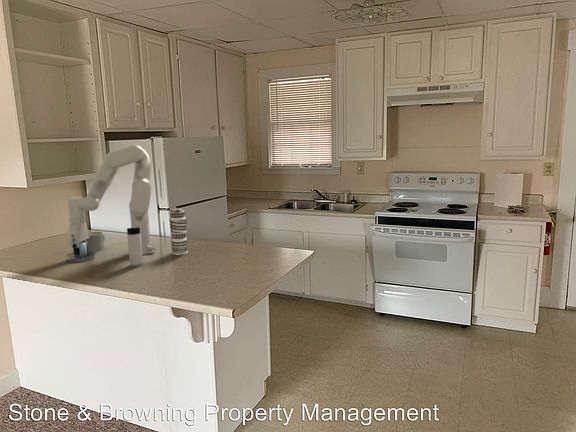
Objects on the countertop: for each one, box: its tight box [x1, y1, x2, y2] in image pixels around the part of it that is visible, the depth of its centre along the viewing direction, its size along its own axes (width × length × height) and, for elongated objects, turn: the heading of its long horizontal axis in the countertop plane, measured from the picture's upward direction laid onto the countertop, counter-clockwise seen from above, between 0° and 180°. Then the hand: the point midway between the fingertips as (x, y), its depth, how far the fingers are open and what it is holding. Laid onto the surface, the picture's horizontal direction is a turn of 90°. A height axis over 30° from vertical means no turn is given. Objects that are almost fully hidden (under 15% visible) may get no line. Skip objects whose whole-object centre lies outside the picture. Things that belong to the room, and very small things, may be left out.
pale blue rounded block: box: [75, 242, 87, 257], centre depth 233 cm, size 6×6×7 cm
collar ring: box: [67, 252, 96, 263], centre depth 234 cm, size 13×13×2 cm
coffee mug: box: [87, 230, 106, 253], centre depth 252 cm, size 13×10×10 cm
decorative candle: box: [169, 207, 189, 256], centre depth 240 cm, size 9×9×25 cm
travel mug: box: [126, 227, 144, 268], centre depth 219 cm, size 6×7×20 cm
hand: (81, 252), depth 233 cm, fingers closed on pale blue rounded block, 6 cm apart
